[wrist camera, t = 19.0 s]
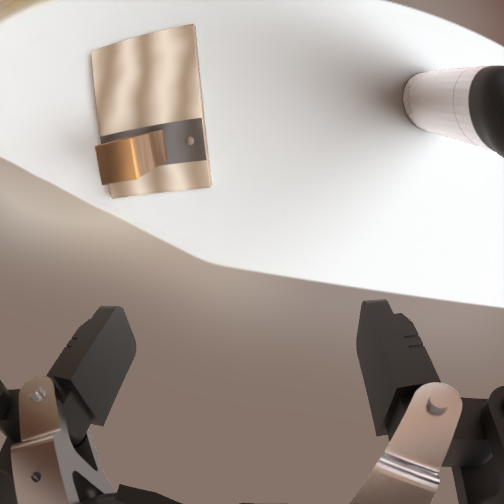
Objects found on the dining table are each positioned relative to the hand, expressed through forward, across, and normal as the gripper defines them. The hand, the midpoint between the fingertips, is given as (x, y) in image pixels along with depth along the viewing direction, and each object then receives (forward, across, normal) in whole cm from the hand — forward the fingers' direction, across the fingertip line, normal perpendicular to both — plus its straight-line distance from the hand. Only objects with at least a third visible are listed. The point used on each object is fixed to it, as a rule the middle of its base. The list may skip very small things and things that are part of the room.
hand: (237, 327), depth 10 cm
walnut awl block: (+34, +16, -3) cm, 38 cm away
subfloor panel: (+36, +16, -8) cm, 40 cm away
